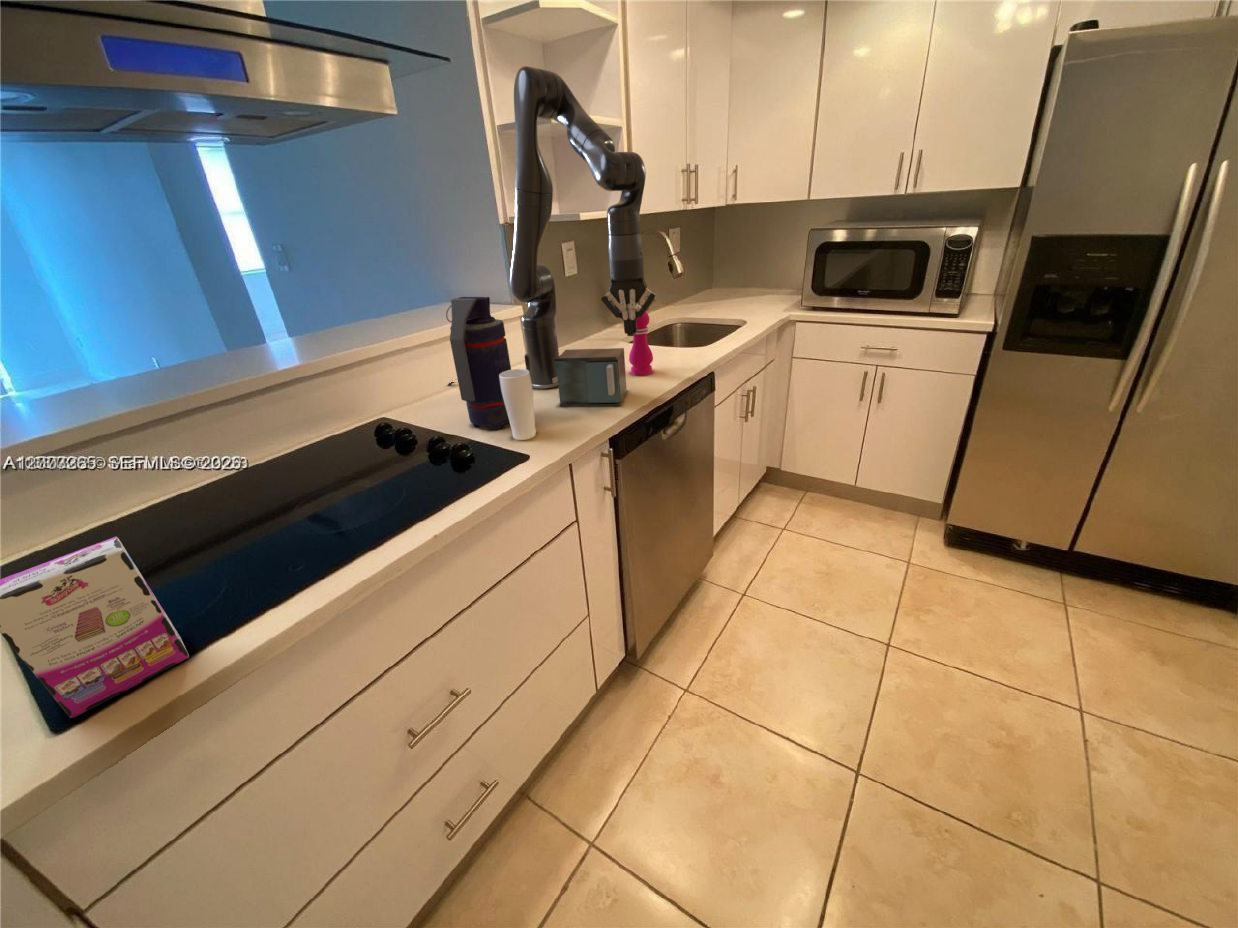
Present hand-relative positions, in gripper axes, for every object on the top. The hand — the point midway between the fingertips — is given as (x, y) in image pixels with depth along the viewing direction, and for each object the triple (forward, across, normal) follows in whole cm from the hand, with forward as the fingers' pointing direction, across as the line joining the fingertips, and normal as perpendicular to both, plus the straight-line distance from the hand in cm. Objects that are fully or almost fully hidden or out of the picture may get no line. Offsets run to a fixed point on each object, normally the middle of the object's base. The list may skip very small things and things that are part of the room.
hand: (630, 335), depth 123 cm
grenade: (+18, +34, +9) cm, 40 cm away
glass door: (+17, +8, -1) cm, 19 cm away
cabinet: (+18, +12, -9) cm, 24 cm away
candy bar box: (+18, +49, +88) cm, 103 cm away
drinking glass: (+18, +23, +17) cm, 35 cm away
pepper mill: (+18, +2, -31) cm, 36 cm away
